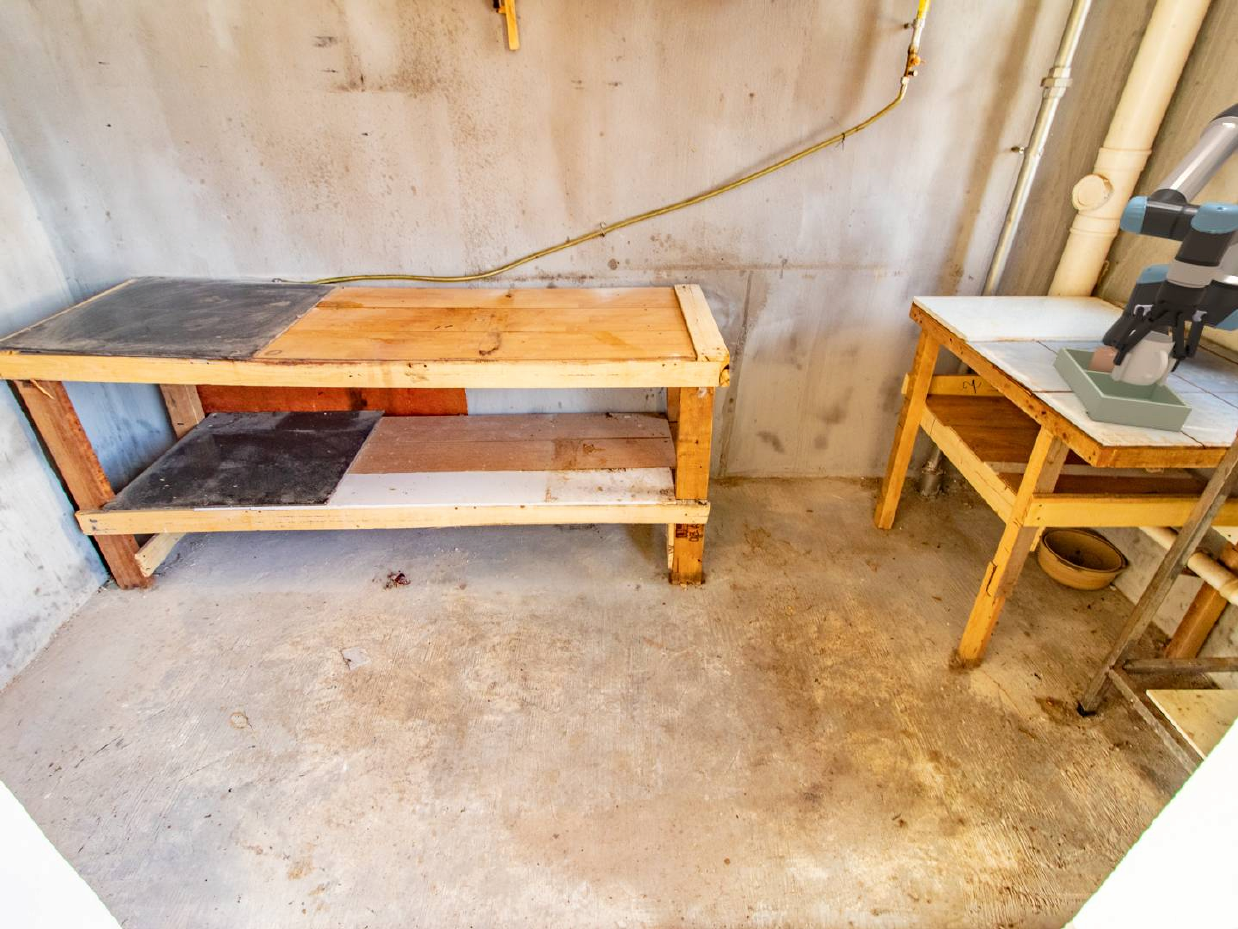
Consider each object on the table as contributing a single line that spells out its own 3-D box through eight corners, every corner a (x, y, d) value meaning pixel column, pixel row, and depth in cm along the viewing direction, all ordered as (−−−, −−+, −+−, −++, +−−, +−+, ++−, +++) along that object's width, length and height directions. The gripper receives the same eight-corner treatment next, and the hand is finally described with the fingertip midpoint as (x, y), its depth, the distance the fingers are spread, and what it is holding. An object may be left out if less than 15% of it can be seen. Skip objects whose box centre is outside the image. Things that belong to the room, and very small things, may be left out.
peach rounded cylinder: (1111, 377, 167) (1125, 348, 162) (1123, 389, 160) (1138, 359, 156) (1079, 373, 168) (1092, 344, 164) (1089, 385, 162) (1102, 355, 158)
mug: (1171, 395, 143) (1194, 351, 138) (1131, 391, 144) (1153, 347, 138) (1141, 373, 153) (1162, 331, 148) (1104, 369, 154) (1124, 328, 149)
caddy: (1126, 376, 169) (1136, 355, 166) (1179, 431, 144) (1192, 408, 141) (1052, 367, 173) (1060, 347, 170) (1091, 419, 148) (1102, 397, 145)
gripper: (1234, 282, 137) (1180, 381, 150) (1122, 272, 142) (1079, 368, 154) (1253, 293, 131) (1196, 394, 143) (1136, 281, 135) (1090, 381, 147)
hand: (1136, 381), depth 148 cm, fingers closed on mug, 8 cm apart
